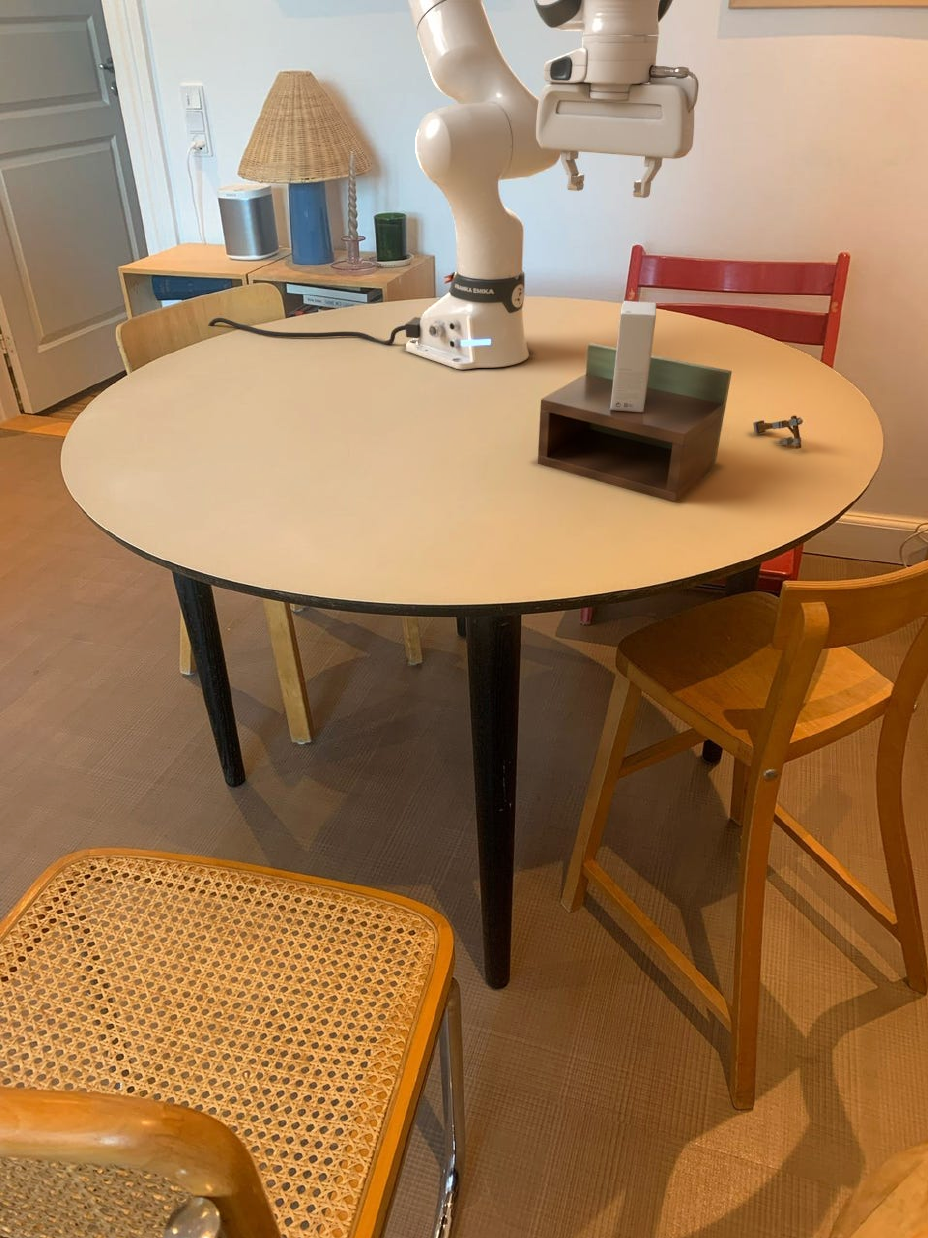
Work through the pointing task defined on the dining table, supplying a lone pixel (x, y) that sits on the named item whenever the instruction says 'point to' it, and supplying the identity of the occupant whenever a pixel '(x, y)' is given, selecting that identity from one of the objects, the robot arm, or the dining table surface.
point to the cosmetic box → (633, 356)
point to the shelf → (637, 426)
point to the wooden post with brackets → (794, 421)
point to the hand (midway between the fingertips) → (607, 193)
